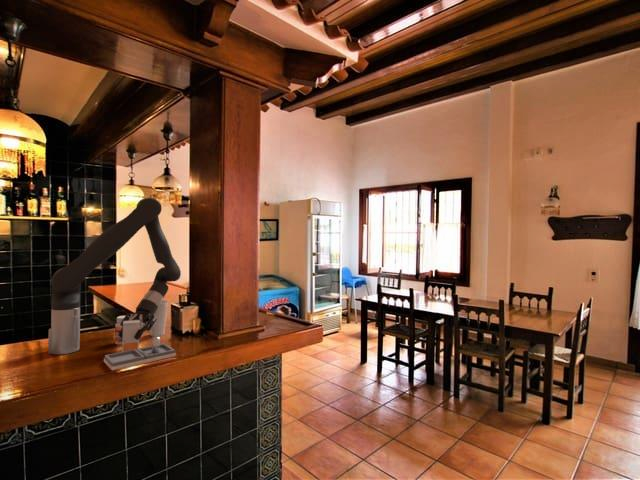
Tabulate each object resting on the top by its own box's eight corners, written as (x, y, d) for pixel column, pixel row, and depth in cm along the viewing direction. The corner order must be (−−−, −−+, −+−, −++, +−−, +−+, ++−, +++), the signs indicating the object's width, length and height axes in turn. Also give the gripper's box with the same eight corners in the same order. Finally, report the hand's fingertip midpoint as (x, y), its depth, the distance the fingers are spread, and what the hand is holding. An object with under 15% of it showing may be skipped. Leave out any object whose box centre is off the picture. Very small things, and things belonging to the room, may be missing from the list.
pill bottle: (113, 345, 146) (114, 319, 145) (115, 341, 151) (116, 315, 151) (130, 344, 148) (130, 317, 148) (131, 340, 154) (132, 314, 154)
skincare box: (121, 353, 137) (122, 323, 137) (122, 350, 140) (122, 320, 140) (139, 351, 139) (139, 321, 139) (139, 348, 143) (139, 319, 143)
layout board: (111, 370, 120) (112, 349, 120) (103, 361, 127) (104, 342, 127) (175, 356, 135) (175, 337, 135) (164, 349, 143) (165, 331, 143)
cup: (161, 331, 168) (161, 299, 168) (171, 334, 163) (171, 302, 163) (143, 335, 161) (144, 302, 161) (153, 338, 156) (154, 304, 156)
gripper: (131, 297, 149) (108, 331, 138) (159, 299, 145) (137, 334, 134) (141, 307, 154) (118, 340, 143) (168, 309, 150) (147, 344, 139)
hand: (128, 337), depth 138 cm, fingers closed on skincare box, 7 cm apart
